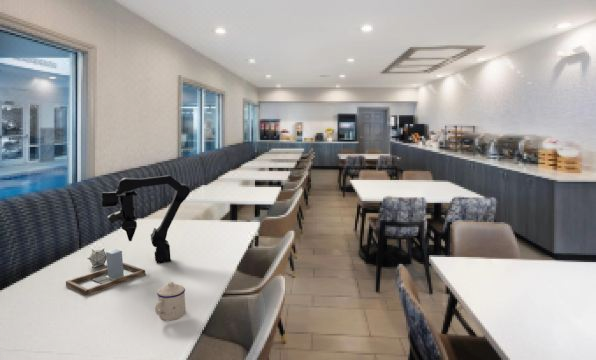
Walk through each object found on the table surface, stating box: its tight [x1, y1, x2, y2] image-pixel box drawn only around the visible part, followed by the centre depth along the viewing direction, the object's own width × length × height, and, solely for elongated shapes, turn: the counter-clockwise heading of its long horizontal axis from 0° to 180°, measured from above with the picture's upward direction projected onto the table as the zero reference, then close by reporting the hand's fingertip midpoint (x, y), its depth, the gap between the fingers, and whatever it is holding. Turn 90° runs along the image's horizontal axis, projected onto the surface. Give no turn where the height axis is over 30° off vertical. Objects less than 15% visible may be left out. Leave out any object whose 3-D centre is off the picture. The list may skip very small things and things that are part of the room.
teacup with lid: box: [154, 281, 187, 321], centre depth 133 cm, size 12×9×12 cm
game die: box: [87, 248, 107, 268], centre depth 182 cm, size 9×8×10 cm
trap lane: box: [65, 262, 146, 296], centre depth 166 cm, size 26×16×2 cm, turn 144°
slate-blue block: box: [105, 248, 125, 279], centre depth 169 cm, size 4×4×11 cm
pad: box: [104, 274, 127, 280], centre depth 170 cm, size 6×7×1 cm
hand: (129, 238), depth 181 cm, fingers open, 9 cm apart
